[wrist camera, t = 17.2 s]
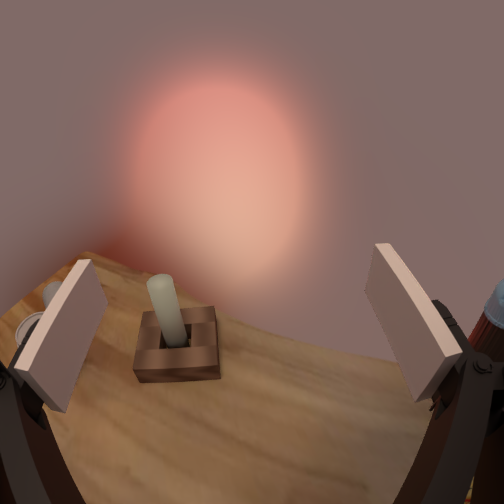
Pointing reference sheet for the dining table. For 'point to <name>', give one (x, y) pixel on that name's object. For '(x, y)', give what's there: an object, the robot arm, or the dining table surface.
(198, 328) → the socket block
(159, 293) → the peg
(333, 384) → the dining table surface
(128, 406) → the dining table surface
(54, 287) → the ceramic mug
